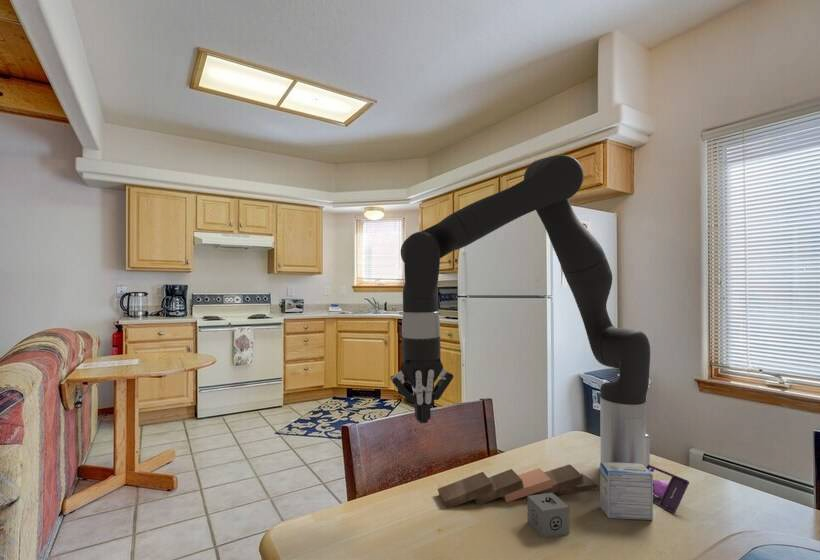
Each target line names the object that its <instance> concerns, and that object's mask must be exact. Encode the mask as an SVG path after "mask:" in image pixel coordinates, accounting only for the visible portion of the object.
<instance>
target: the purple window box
mask: <svg viewBox="0 0 820 560" xmlns="http://www.w3.org/2000/svg"><path fill="white" fill-rule="evenodd" d="M646 468H647V469H648V470H649V469H650V470H649V471H650V472H651V473H654V471H657V472H660V473H662V474H665V475H667V476H670V477H671V478H670V480H669V482H668V481H665V480H662V479H654V478H653V504H655V505H656V506H659V507H660V508H662V509H663V510H666V511H668V512H670V513H672V514H674V515H675V514H676V513H677V510H678V508H679V506H680V503H681V502H682V499H683V498H684V495H685V493H686V491H687V489H688V486H689V484H690V481H689V480H687V479H684V478H683V477H680V476H678V475H675V474H673V473H670V472H668V471H666V470H663V469H661V468H658V467H656V466H653V465H651V464H650V465H647V467H646ZM656 496H657V497H659V498H661V499H660V501H659V503H658V502H656V501H655V500H656Z"/></svg>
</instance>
